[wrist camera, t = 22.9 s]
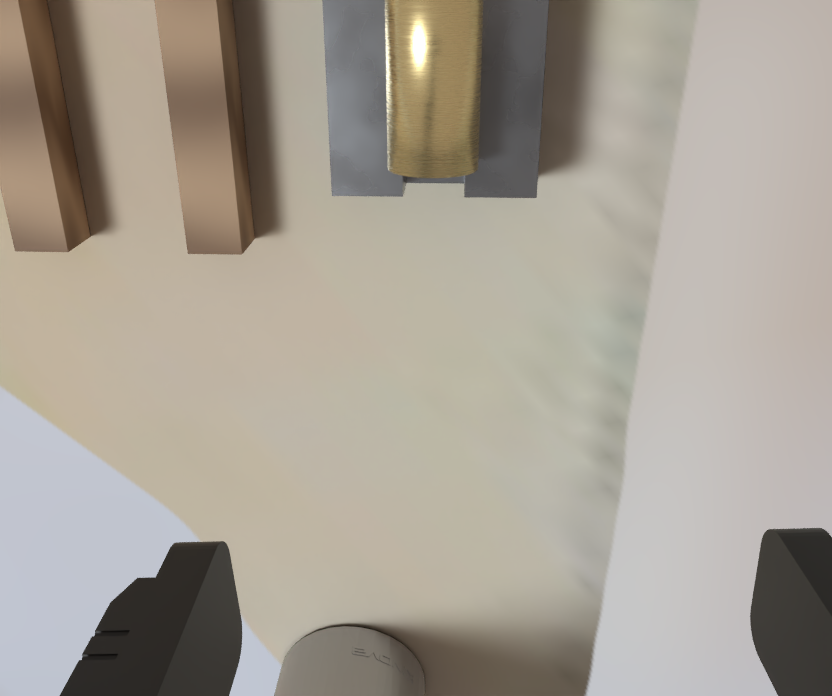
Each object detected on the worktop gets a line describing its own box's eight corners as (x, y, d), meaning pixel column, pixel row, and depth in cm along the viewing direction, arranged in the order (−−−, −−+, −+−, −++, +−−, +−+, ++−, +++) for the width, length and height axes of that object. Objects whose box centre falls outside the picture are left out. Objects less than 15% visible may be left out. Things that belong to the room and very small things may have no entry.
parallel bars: (254, 238, 38) (242, 254, 36) (40, 236, 38) (14, 251, 36) (228, -39, 33) (212, -40, 30) (-18, -38, 33) (-52, -39, 31)
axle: (481, 160, 32) (474, 179, 29) (395, 157, 33) (380, 176, 30) (490, -119, 28) (483, -132, 25) (391, -117, 29) (373, -130, 26)
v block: (529, 178, 36) (536, 197, 33) (343, 177, 36) (332, 195, 33) (547, -126, 31) (557, -138, 28) (330, -124, 31) (316, -136, 28)
